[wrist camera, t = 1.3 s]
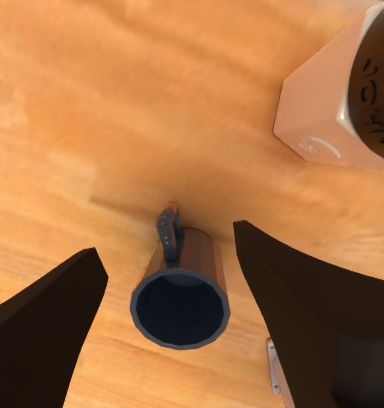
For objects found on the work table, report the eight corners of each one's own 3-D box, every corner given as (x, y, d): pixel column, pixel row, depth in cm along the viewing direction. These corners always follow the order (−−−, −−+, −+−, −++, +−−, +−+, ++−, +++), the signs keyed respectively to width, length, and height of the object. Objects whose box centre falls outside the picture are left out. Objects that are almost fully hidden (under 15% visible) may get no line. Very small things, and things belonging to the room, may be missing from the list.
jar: (252, 120, 18) (337, 74, 7) (316, 35, 16) (584, -226, 5) (321, 177, 20) (493, 217, 8) (389, 104, 18) (746, 19, 6)
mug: (224, 282, 23) (235, 345, 16) (161, 290, 24) (143, 354, 17) (209, 190, 21) (214, 214, 13) (138, 202, 21) (103, 232, 14)
